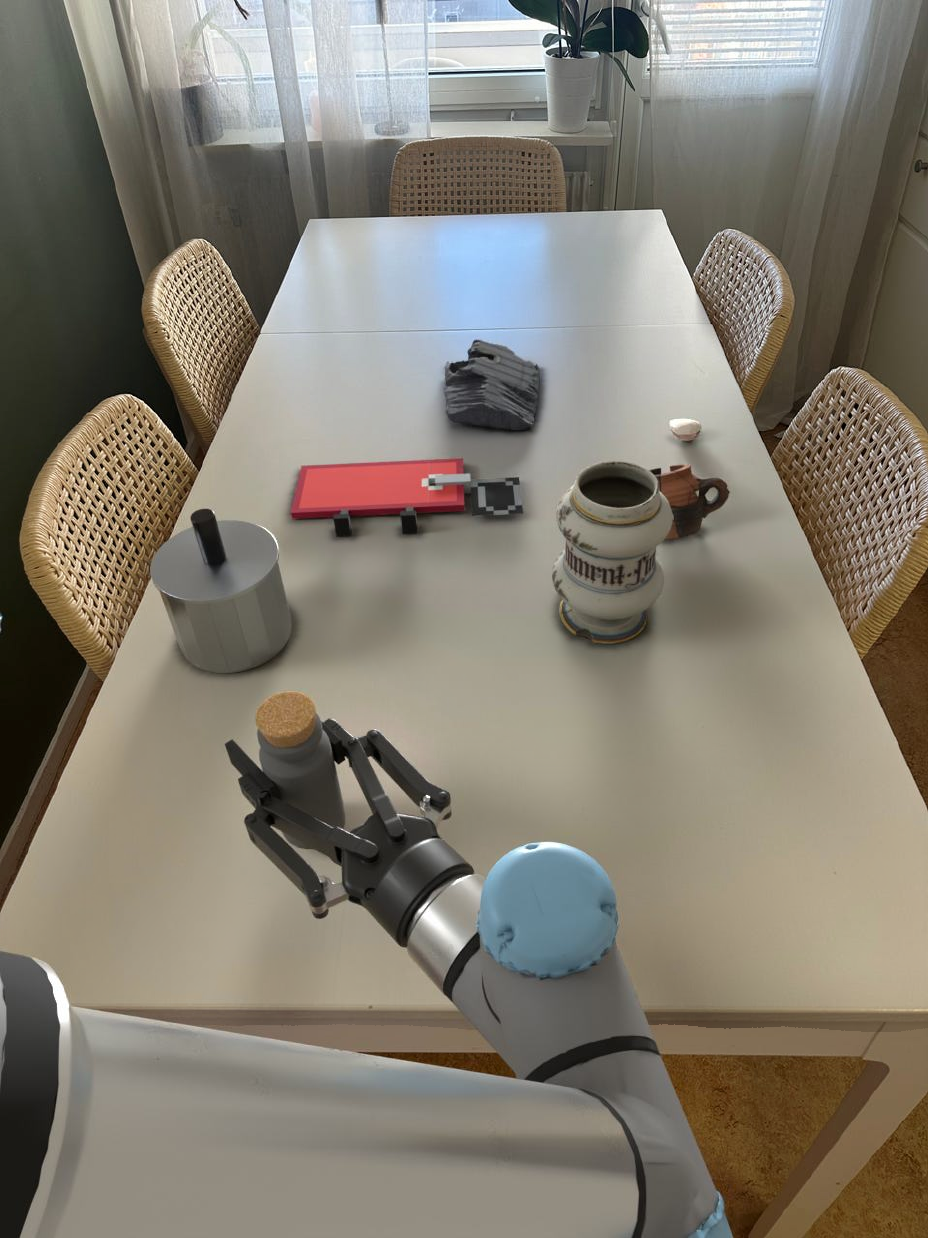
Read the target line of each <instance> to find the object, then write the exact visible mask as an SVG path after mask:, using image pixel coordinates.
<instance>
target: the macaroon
mask: <svg viewBox="0 0 928 1238" xmlns="http://www.w3.org/2000/svg"><path fill="white" fill-rule="evenodd" d="M669 428H670V431H671V434H672V435H673V437H674V438H675V439H677V440H678V441H679V440H680V441H683V442H690V441H694V440H695V439H696V438H698V437H699V436H700V435H701V433H702V432H701V431H702V424H701V423H700V422H699V421H698V420H695V419H690V418H677V419H672V420H670V421H669Z"/></svg>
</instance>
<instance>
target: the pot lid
mask: <svg viewBox="0 0 928 1238" xmlns="http://www.w3.org/2000/svg"><path fill="white" fill-rule="evenodd" d="M189 518H190V522H191V525H192V526H191V527H187V528H186V529H184V530H182V531H180V532H178V533H177V534H175V535H173V536H172V537H170V538H169V539H168V540H166V541H165V542H164V543H163V544H162V545H161V546H160V547H159V548H158V549H157V551H155V554H154V555H153V557H152V560H151V563H150V565H149V566H150V568H149V573H150V577H151V580H152V583H153V585H154V586H155V588H156V589H157V591H158V592H159V593H160V592H161V593H162V594H164V595H165V596H167V597H169V598H171V599H174V600H177V601H180V602H185V603H192V604H208V603H216V602H222V601H226V600H230V599H233V598H236V597H238V596H241V595H243V594H245V593H247V592H249V591H251V590H253V589H254V588H256V587H257V586H259V585H260V584H261V583H263V582H264V581H265V580H266V579H267V578H268V577H269V576H270V575H271V573H272V572H273V571H274V569H275V567H276V565H277V563H278V564H279V559H280V548H279V545H278V541H277V540H276V538H275V536H274V535H273V534H272V533H271V532H270V531H269V530H268V529H266V528H265V527H263V526H262V525H258V524H256V523H253V522H250V521H246V520H237V519H223V520H217V517H216V514H215V512H214V510H212V509H210V508H200V509H197V510H195V511H194V512H192V513H191V514H190V517H189Z"/></svg>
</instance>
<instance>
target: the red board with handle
mask: <svg viewBox="0 0 928 1238" xmlns="http://www.w3.org/2000/svg"><path fill="white" fill-rule="evenodd" d="M520 482H521V481H520V476H513V477H495V478H494V477H491V478H471V473H464V457H461V458H460V457H458V458H457V457H456V458H437V459H436V458H435V459H416V460H415V459H414V460H393V461H375V462H373V461H372V462H350V463H331V464H330V463H329V464H328V463H327V464H311V465H310V464H309V465H301V466H300V470H299V475H298V480H297V483H296V489H295V493H294V497H293V501H292V506H291V510H290V516H291V519H293V520H295V519H316V518H317V519H318V518H332V519H333V524H334V530H335V535H336V537H337V538H340V537H342V538H343V537H352V533H353V531H352V524H351V518H350V517H358V516H360V517H361V516H382V515H400V523H401V533H402V534H403V535H405V534H407V535H408V534H418V519H417V514H422V513H423V514H424V513H427V514H428V513H445V512H447V513H448V512H465V511H466V509H465V494H470V500H471V501H470V502H471V504H470V505H471V516H472V517H480V516H497V515H498V516H501V515H520V514H521V515H522V514H524V508H523V501H522V500H523V499H522V490H521V483H520Z"/></svg>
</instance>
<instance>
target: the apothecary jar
mask: <svg viewBox="0 0 928 1238" xmlns="http://www.w3.org/2000/svg"><path fill="white" fill-rule="evenodd" d="M649 470H650V469H648V468H646V467H644V466H643V465H640V464H637V463H633V462H630V461H624V460H606V461H600V462H596V463H593V464H591V465H589V466H587V467H585V468H583V470H581V471H580V472H579V473H578V475H577V476H576V478H575V481H574V484H573V485H572V486H570V487H569V488H568V489H567V490H565V492H563V494H562V495H561V497H560V499H559V500H558V503H557V506H556V511H555V518H556V523H557V527H558V530H559V531H560V532H561V534H562V536H563V537H564V538H565V545H564V546H565V547H564V548H563V549H562V550H561V551H560V552H559V554H558V555H557V557H556V558H555V561H554V563H553V566H552V571H551V579H552V584H553V587H554V590H555V591H556V593H557V595H558V596H559V597H560V599H561V601H560V604H559V608H558V609H559V611H558V613H559V617H560V620H561V623H562V624H563V625H564V627H565V628H566V629H567V630H568V631H569V632H570V633H572V634H573V635H574V636H577V637H583V638H584V637H585V638H587V639H589V640H590V641H591V642H592V643H595V644H601V645H602V644H603V645H615V644H619V643H624V642H627V641H630V640H631V639H634V638H635V637H637V636H638V635H639V634H640V633H641V632H642V631H643V630H644V628H645V626H646V624H647V620H648V611H647V610H648V609H649V608H651V606H653V605H654V604H655V602H657V600H658V599H659V598H660V596H661V594H662V592H663V589H664V584H665V573H664V569H663V566H662V564H661V562H660V560H659V559H658V557H657V547H658V546H659V545H660V544H661V543H662V542H664V541H665V540H666V539H665V538H666V537H667V535H668V534H669V532H670V529H671V526H672V522H673V514H672V510H671V507H670V504H669V502H668V500H667V499H666V497H665V496H664V495H663V494H662V493H661V492H660V488H659V482H658V480H657V478H656V476H655V475H654V474H653V473H652V472H650V471H649ZM664 539H665V540H664Z"/></svg>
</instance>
